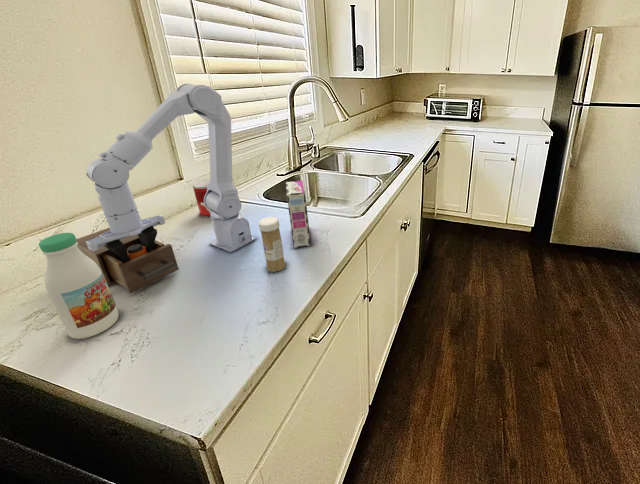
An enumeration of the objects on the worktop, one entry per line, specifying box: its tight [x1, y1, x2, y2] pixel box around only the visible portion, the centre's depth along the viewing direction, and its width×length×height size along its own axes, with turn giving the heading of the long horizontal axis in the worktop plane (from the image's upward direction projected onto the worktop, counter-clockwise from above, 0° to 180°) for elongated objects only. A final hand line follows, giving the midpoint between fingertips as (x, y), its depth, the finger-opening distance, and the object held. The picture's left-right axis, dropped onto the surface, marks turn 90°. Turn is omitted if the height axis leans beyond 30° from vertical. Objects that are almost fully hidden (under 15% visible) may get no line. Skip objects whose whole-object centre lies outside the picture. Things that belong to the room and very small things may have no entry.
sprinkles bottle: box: [258, 216, 286, 273], centre depth 81 cm, size 5×5×14 cm
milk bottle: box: [38, 232, 120, 340], centre depth 62 cm, size 8×8×20 cm
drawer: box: [100, 239, 180, 295], centre depth 78 cm, size 16×10×7 cm, turn 62°
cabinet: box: [76, 227, 140, 287], centre depth 83 cm, size 13×12×9 cm
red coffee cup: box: [192, 179, 211, 218], centre depth 112 cm, size 8×8×11 cm
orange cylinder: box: [127, 244, 148, 260], centre depth 78 cm, size 4×4×6 cm
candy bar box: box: [285, 180, 312, 249], centre depth 94 cm, size 11×5×16 cm, turn 20°
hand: (139, 261), depth 78 cm, fingers closed on orange cylinder, 4 cm apart
